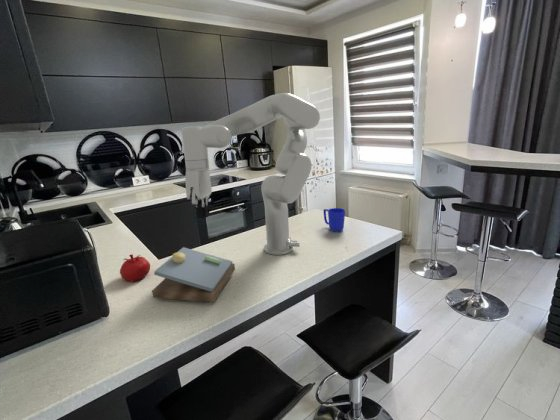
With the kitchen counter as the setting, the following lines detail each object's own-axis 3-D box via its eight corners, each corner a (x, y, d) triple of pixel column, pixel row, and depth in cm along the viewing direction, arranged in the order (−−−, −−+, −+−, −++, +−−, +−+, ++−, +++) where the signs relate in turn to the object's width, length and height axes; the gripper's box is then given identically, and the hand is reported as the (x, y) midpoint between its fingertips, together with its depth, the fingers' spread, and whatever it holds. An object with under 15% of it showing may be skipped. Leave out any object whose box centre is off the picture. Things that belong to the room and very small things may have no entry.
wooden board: (235, 273, 106) (234, 263, 105) (214, 306, 88) (212, 294, 87) (184, 270, 110) (183, 261, 109) (153, 301, 91) (151, 290, 90)
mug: (329, 224, 152) (329, 205, 149) (348, 229, 143) (348, 210, 140) (318, 228, 147) (318, 209, 144) (337, 234, 138) (337, 214, 135)
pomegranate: (157, 273, 110) (153, 251, 107) (133, 286, 101) (129, 262, 98) (138, 268, 114) (135, 246, 111) (115, 280, 105) (110, 257, 103)
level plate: (232, 264, 104) (233, 256, 103) (212, 292, 88) (213, 283, 86) (182, 250, 106) (183, 242, 105) (154, 274, 89) (154, 265, 88)
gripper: (197, 162, 105) (203, 211, 110) (174, 167, 91) (182, 223, 96) (217, 162, 104) (221, 211, 109) (196, 167, 90) (203, 224, 95)
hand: (203, 217), depth 102 cm, fingers closed
